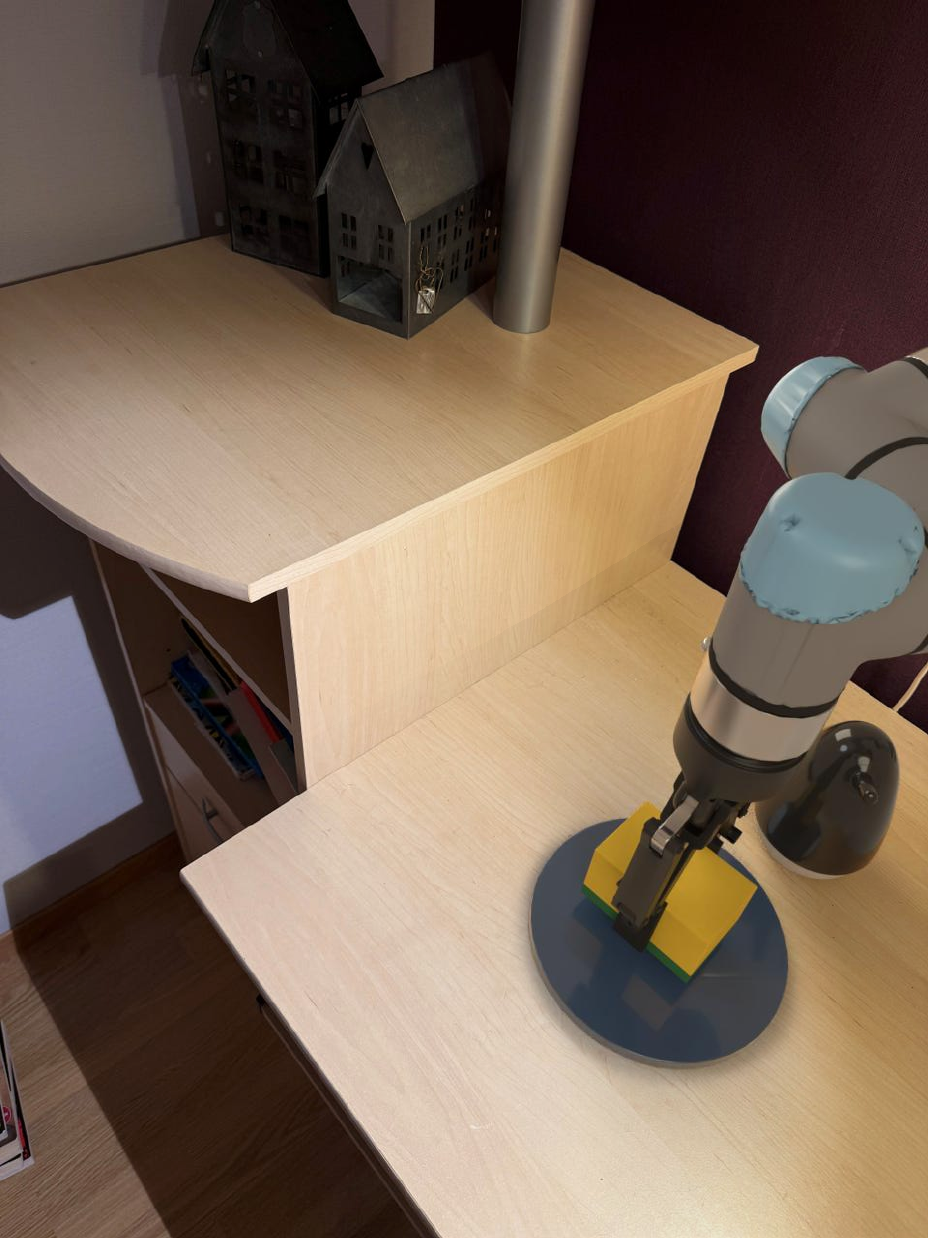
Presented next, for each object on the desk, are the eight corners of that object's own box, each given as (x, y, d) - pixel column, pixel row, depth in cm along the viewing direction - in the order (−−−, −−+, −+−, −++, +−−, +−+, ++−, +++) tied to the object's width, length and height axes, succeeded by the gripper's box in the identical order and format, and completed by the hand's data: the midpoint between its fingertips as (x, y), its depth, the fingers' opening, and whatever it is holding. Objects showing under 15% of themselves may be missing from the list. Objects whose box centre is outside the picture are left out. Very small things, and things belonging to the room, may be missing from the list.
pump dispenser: (740, 882, 75) (804, 773, 65) (742, 783, 83) (800, 670, 72) (865, 915, 74) (951, 809, 64) (855, 811, 81) (932, 701, 71)
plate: (752, 832, 79) (756, 825, 78) (812, 1076, 64) (818, 1070, 64) (524, 818, 78) (526, 810, 77) (533, 1062, 63) (536, 1056, 63)
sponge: (733, 926, 69) (758, 886, 65) (686, 984, 66) (708, 945, 62) (630, 842, 74) (646, 799, 70) (580, 891, 70) (594, 849, 66)
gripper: (778, 608, 61) (687, 804, 77) (599, 766, 50) (537, 956, 66) (881, 671, 57) (764, 863, 73) (713, 855, 47) (619, 1033, 63)
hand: (657, 907), depth 70 cm, fingers closed on sponge, 6 cm apart
